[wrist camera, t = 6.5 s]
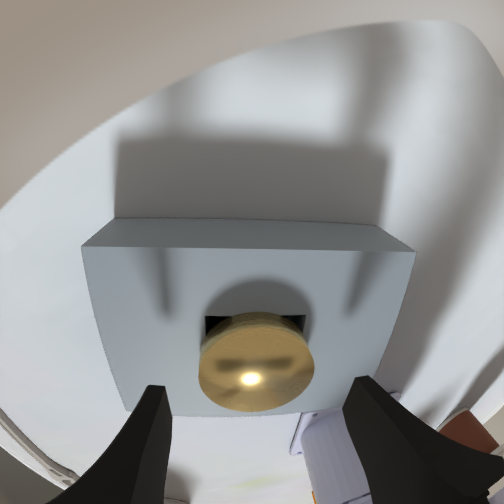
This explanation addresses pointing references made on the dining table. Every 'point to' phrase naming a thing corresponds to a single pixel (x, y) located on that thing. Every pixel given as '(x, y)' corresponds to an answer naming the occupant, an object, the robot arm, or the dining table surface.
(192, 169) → the dining table surface
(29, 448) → the adjustable wrench
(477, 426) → the coffee cup
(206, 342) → the brass door knob
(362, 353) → the block
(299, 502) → the dining table surface
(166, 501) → the coffee cup
